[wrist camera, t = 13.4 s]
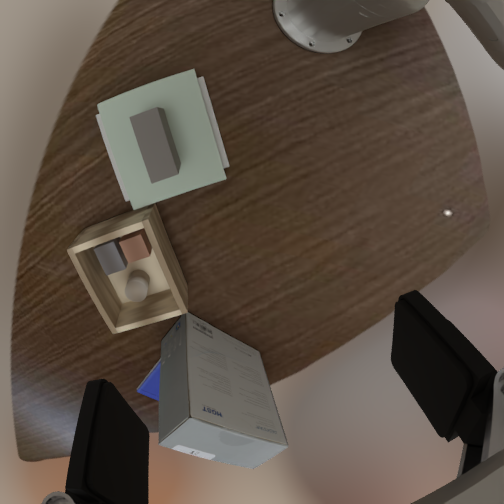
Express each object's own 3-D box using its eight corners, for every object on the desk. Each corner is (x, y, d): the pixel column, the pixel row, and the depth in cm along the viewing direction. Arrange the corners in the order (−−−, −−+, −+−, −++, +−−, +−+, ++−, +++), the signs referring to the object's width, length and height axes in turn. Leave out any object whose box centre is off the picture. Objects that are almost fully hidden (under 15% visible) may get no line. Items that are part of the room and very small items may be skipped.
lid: (193, 71, 34) (194, 58, 26) (225, 175, 40) (233, 192, 32) (101, 104, 33) (77, 103, 25) (136, 205, 39) (122, 230, 31)
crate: (154, 202, 40) (148, 219, 34) (187, 284, 46) (188, 312, 40) (83, 229, 40) (66, 249, 33) (121, 305, 45) (112, 334, 39)
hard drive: (168, 352, 49) (136, 392, 52) (210, 370, 52) (175, 407, 55) (168, 346, 51) (137, 386, 53) (209, 364, 54) (175, 401, 57)
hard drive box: (159, 340, 49) (154, 444, 31) (185, 309, 48) (189, 415, 30) (234, 377, 55) (253, 471, 37) (261, 350, 54) (291, 446, 36)
